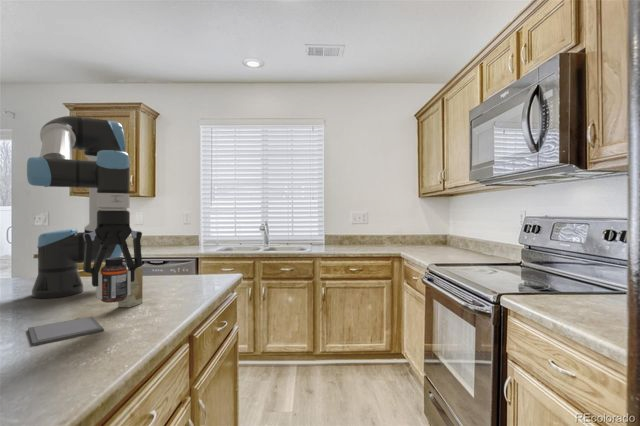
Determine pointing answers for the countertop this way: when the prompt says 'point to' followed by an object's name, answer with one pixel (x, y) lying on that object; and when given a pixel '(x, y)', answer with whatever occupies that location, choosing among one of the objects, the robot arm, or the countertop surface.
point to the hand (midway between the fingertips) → (113, 295)
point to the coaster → (63, 330)
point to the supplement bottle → (114, 280)
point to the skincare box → (134, 290)
